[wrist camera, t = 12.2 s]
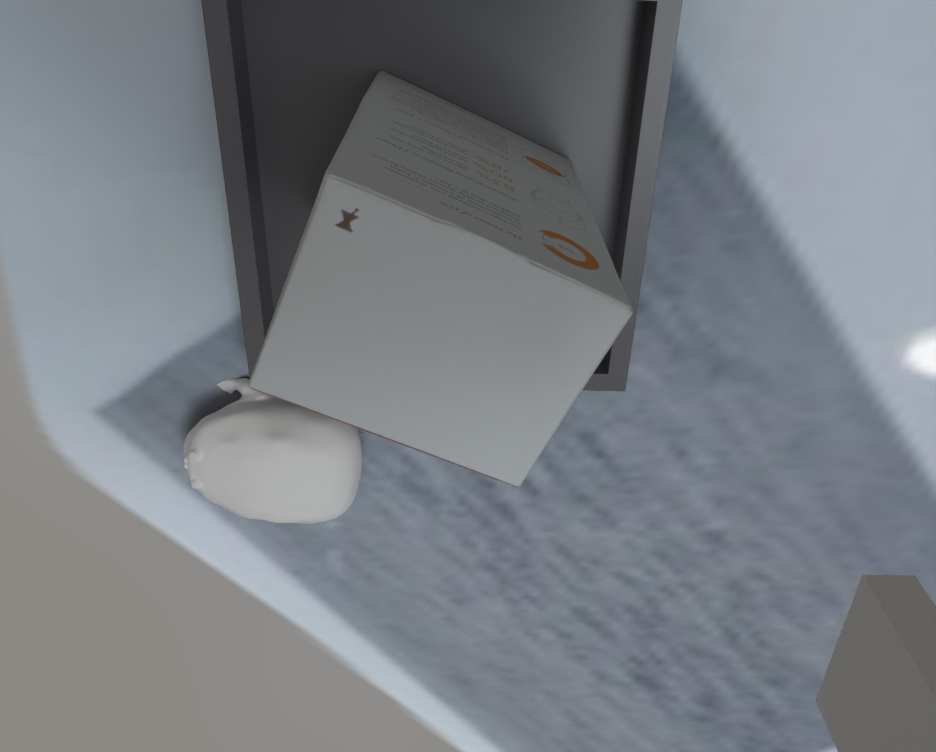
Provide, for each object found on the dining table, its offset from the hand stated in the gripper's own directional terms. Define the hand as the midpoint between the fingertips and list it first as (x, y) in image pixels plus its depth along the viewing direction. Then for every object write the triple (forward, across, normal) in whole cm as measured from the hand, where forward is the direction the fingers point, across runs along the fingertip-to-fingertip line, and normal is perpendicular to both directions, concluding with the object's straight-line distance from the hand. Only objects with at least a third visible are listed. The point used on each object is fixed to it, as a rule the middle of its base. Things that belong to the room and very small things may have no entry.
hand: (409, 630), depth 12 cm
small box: (+22, 0, 0) cm, 22 cm away
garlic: (+23, -8, -12) cm, 27 cm away
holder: (+23, 0, 0) cm, 23 cm away
